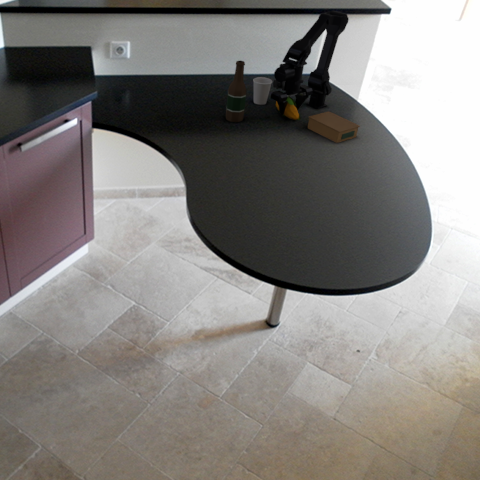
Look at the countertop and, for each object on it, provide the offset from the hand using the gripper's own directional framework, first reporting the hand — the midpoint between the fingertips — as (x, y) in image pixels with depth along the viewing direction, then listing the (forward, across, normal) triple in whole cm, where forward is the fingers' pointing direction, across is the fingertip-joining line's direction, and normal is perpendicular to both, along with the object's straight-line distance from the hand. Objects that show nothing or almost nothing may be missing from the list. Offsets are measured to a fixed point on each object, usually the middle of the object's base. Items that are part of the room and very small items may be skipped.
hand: (288, 112), depth 249 cm
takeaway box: (+2, -4, +21) cm, 21 cm away
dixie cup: (+2, 0, -18) cm, 18 cm away
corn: (+2, 0, 0) cm, 2 cm away
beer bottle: (+2, +22, -9) cm, 24 cm away
